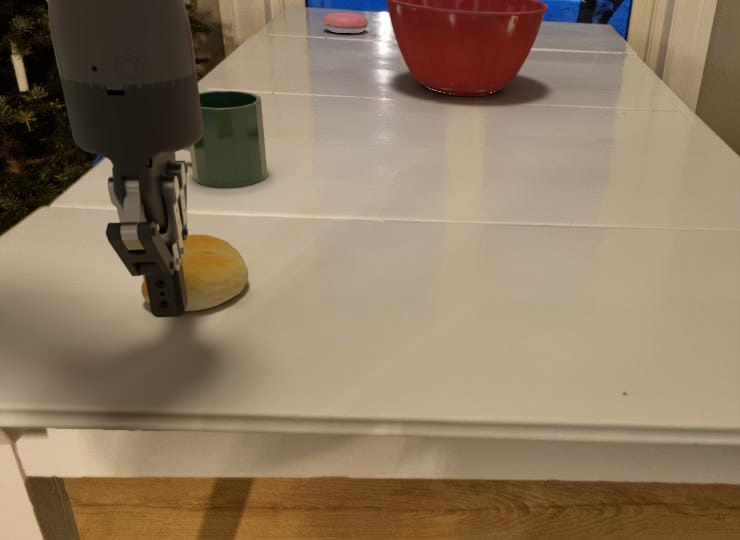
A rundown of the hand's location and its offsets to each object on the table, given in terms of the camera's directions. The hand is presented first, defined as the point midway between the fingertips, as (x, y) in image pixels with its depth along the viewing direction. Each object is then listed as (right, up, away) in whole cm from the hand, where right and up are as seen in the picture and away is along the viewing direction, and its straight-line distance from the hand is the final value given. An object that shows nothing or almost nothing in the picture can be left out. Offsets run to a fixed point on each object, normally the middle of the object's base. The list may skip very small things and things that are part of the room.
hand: (170, 311), depth 51 cm
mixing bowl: (+19, +36, +79) cm, 89 cm away
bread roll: (-2, +1, +9) cm, 10 cm away
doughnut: (-11, +62, +125) cm, 140 cm away
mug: (-9, +15, +34) cm, 38 cm away
